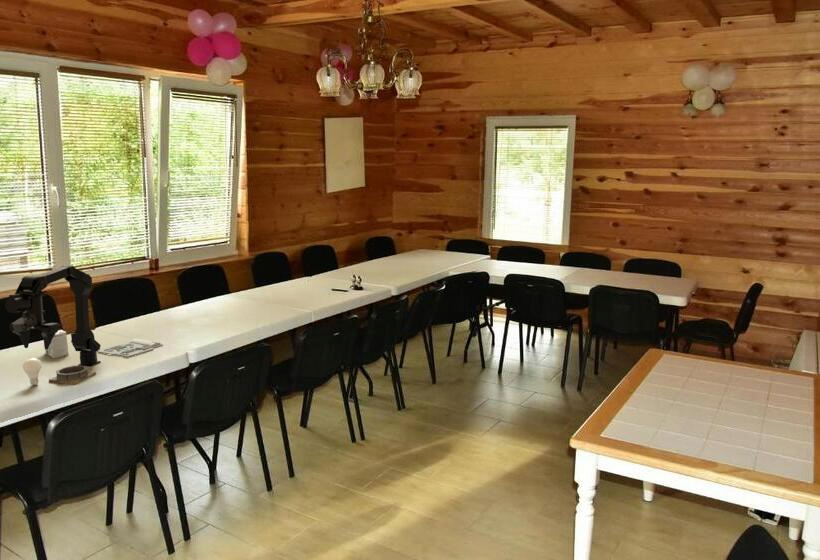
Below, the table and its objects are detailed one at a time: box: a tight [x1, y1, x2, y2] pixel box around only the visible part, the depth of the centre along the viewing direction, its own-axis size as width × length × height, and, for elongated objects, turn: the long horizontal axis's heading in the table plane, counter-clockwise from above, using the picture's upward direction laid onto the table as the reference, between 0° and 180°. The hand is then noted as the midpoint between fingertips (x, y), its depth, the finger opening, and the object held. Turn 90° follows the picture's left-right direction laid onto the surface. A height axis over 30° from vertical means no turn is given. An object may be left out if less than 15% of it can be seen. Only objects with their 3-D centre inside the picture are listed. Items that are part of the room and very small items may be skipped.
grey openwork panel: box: [96, 338, 164, 359], centre depth 299 cm, size 23×3×20 cm
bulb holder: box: [48, 364, 97, 385], centre depth 260 cm, size 12×12×4 cm
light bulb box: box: [44, 329, 70, 359], centre depth 292 cm, size 11×7×11 cm, turn 47°
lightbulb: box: [22, 357, 43, 386], centre depth 251 cm, size 6×6×11 cm
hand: (36, 348), depth 249 cm, fingers open, 9 cm apart
